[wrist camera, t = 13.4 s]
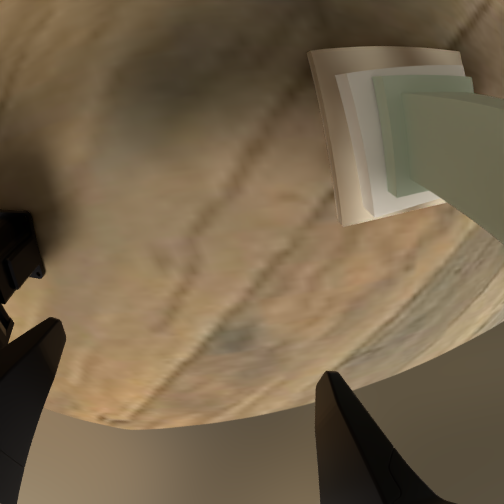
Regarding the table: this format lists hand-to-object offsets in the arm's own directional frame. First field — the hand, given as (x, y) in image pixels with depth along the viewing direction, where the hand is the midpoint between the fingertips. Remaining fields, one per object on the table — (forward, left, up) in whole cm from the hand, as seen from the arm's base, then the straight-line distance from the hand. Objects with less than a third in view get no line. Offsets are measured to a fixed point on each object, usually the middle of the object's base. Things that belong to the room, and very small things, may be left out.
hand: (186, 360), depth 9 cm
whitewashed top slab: (+12, +8, -12) cm, 19 cm away
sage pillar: (+12, +8, -10) cm, 18 cm away
